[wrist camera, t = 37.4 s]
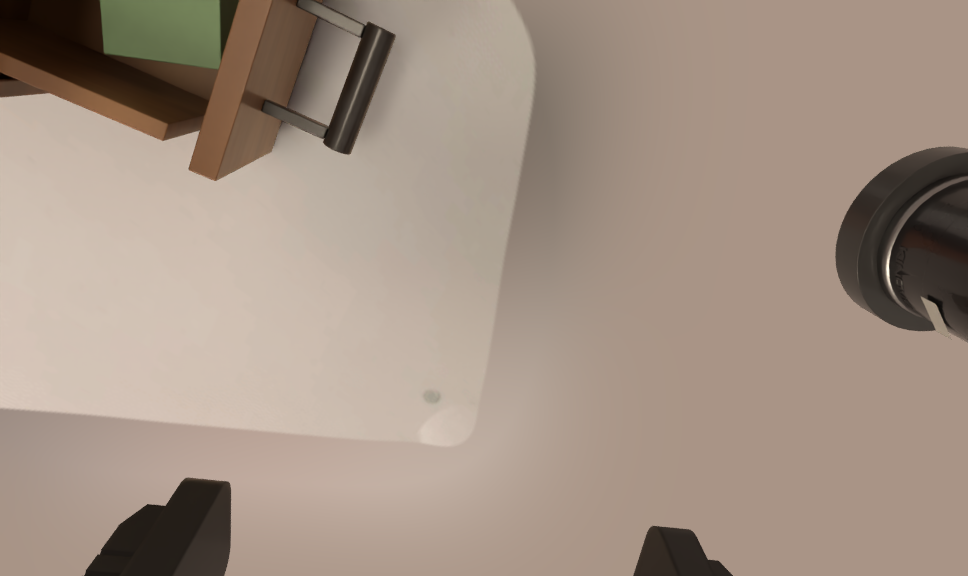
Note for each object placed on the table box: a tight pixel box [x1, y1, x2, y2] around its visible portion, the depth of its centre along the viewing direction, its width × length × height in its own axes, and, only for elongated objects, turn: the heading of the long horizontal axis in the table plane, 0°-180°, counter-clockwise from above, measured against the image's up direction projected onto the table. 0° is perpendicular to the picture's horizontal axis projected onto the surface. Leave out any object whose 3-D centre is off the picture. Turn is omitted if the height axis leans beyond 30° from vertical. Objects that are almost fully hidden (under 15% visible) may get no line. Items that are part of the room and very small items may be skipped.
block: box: [100, 0, 239, 70], centre depth 28 cm, size 5×5×5 cm
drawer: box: [0, 0, 396, 181], centre depth 27 cm, size 18×11×9 cm, turn 65°
